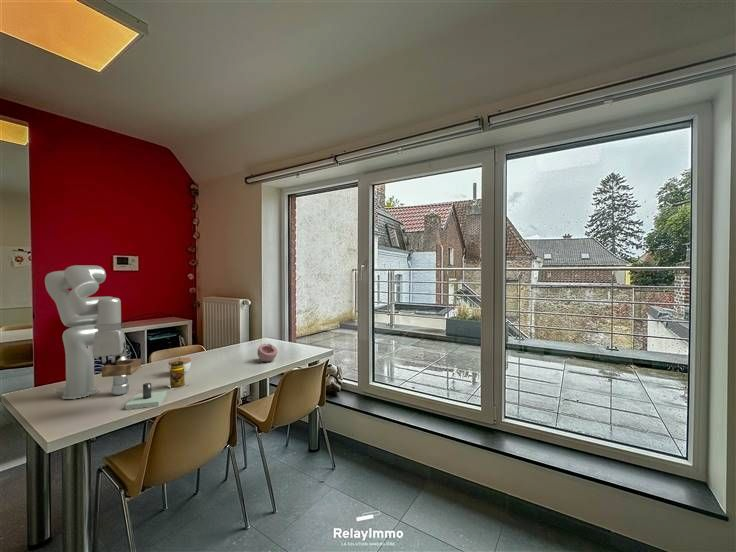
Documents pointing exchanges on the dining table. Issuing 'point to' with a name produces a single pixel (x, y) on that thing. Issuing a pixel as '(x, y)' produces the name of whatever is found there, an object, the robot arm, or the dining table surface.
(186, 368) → the white round bowl
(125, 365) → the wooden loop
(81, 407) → the dining table surface
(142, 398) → the peg stand
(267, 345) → the pink round bowl
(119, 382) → the plastic bottle
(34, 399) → the dining table surface
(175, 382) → the condiment
